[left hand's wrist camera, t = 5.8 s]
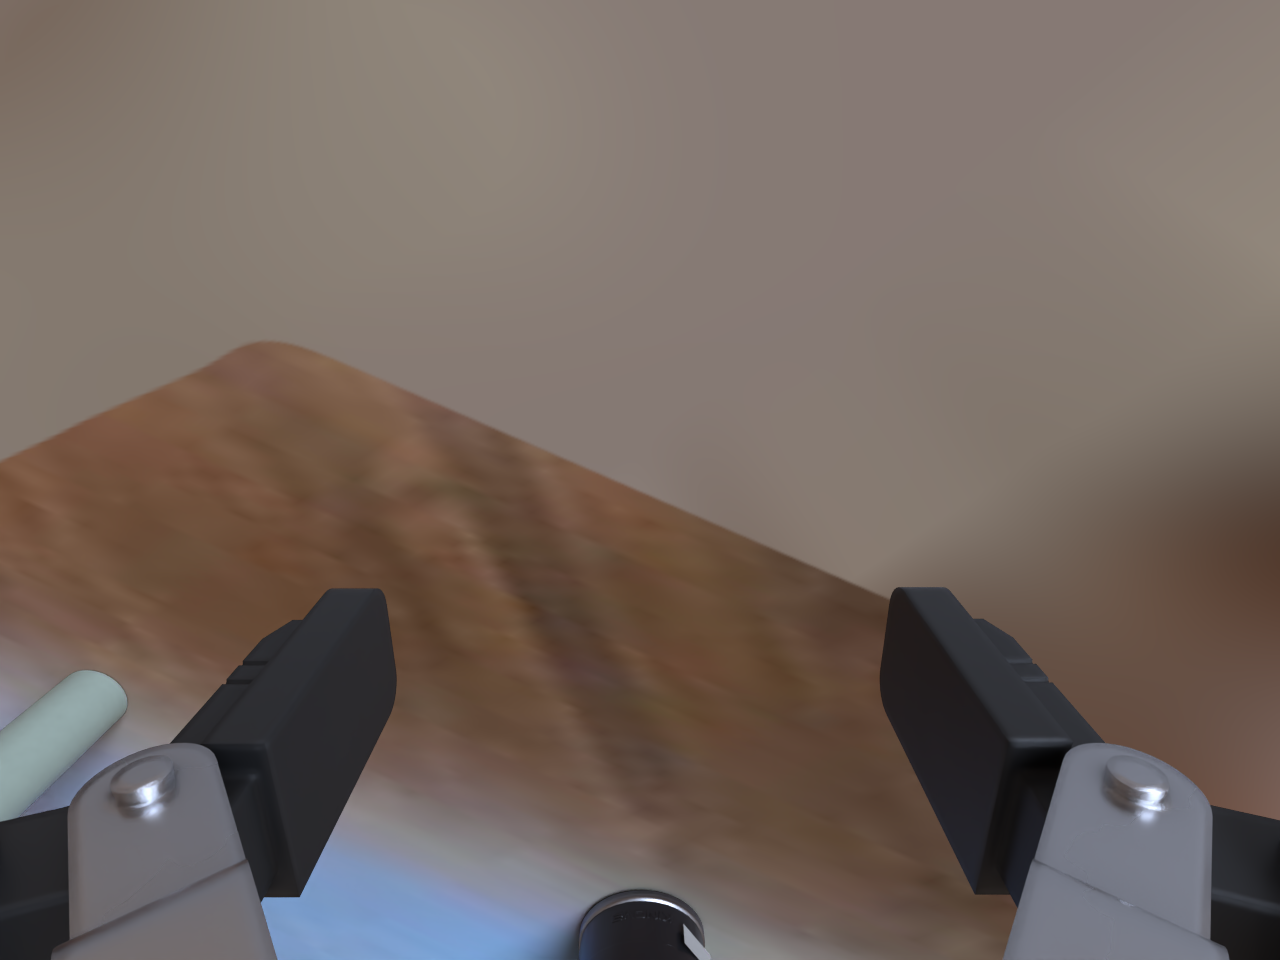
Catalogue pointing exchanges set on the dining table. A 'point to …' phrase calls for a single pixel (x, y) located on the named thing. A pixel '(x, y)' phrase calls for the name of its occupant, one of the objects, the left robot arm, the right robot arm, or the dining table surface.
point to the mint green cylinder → (55, 736)
